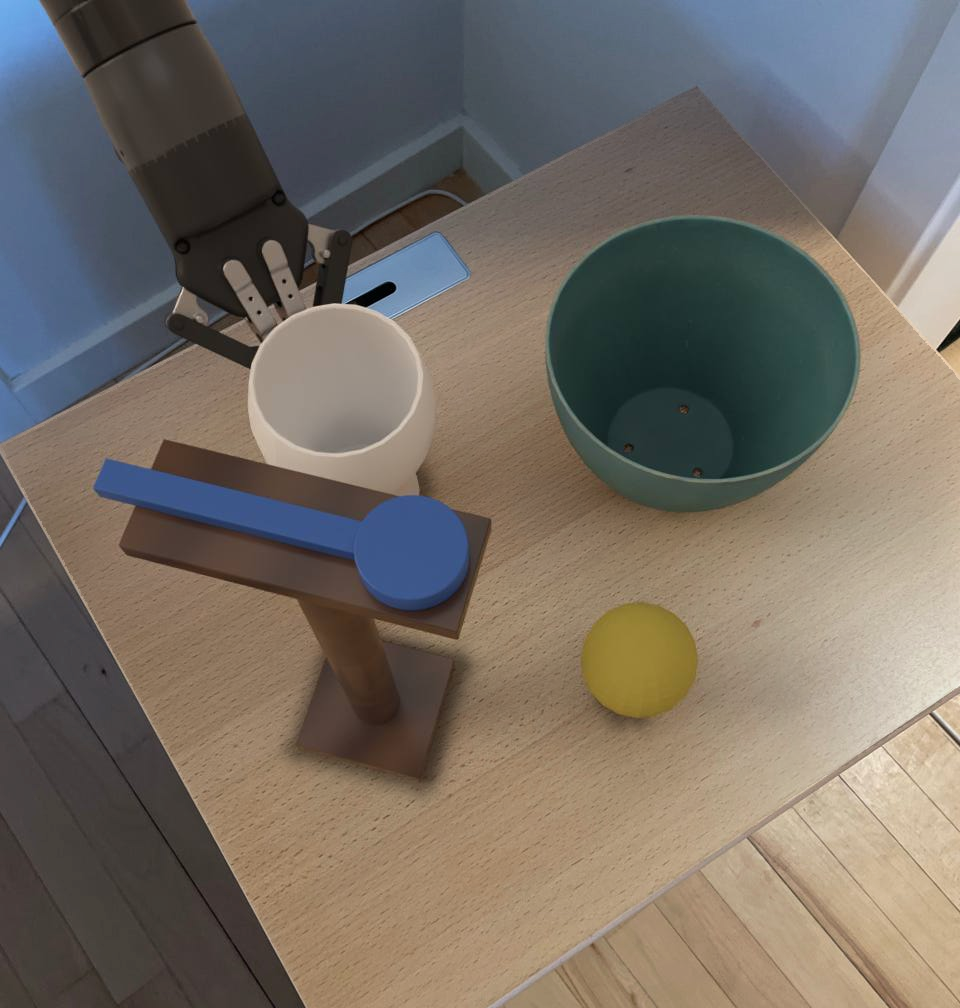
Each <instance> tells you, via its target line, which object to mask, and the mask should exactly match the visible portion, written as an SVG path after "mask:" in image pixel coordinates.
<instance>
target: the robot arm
mask: <svg viewBox="0 0 960 1008" xmlns="http://www.w3.org/2000/svg"><path fill="white" fill-rule="evenodd" d="M38 1H39V2H40V5H41V7H42V8H43V9H44V11H45V13H46V15H47V17H48V19H49V20H50V23H51V24H52V26H53V27H54V29H55V31H56V33H57V35H58V37H59V38H60V42H62V44H63V46H64V48H65V50H66V52H67V54H68V56H69V57H70V59H71V61H72V62H73V64H74V66H75V68H76V70H77V72H78V74H79V75H80V77H81V78H83V83H84V85H85V87H86V89H87V91H88V93H89V96H90V98H91V100H92V103H93V106H94V108H95V111H96V113H97V116H98V118H99V120H100V122H101V124H102V127H103V128H104V131H105V132H106V134H107V136H108V138H109V140H110V141H111V143H112V146H113V150H114V153H115V155H116V156H117V159H118V160H119V161H120V162H121V163H122V165H124V167H125V169H126V171H127V173H128V175H129V176H130V179H131V181H132V182H133V184H134V185H135V188H136V189H137V191H138V193H139V195H140V197H141V199H142V200H143V202H144V204H145V206H146V207H147V210H148V211H149V213H150V215H151V217H152V219H153V221H154V222H155V224H156V226H157V228H158V229H159V231H160V233H161V235H162V237H163V238H164V240H165V242H166V244H167V246H168V248H169V249H170V252H171V254H172V256H173V260H174V268H175V271H174V273H175V278H176V281H177V282H178V284H179V285H180V289H179V292H178V295H177V296H176V299H175V302H174V305H173V307H172V310H171V311H170V312H168V313H166V314H165V316H164V319H163V323H164V326H165V328H166V329H167V330H168V331H169V332H171V333H172V334H174V335H175V336H178V337H180V338H182V339H184V340H186V341H188V342H191V343H193V344H195V345H197V346H200V347H202V348H203V349H205V350H208V351H210V352H212V353H215V354H217V355H218V356H221V357H223V358H225V359H227V360H228V361H231V362H234V363H236V364H238V365H239V366H243V367H244V368H247V369H249V370H251V364H252V362H253V360H254V357H255V355H256V353H257V351H258V349H259V346H260V345H253V346H250V345H248V344H246V343H244V342H241V341H239V340H237V339H235V338H233V337H230V336H229V335H226V334H224V333H222V332H221V331H219V330H216V329H214V328H212V327H210V326H208V325H209V323H210V317H209V315H208V312H207V311H206V310H204V309H203V308H202V307H201V306H200V305H199V303H198V298H199V299H201V300H203V301H205V302H207V303H208V304H211V305H212V306H214V307H216V308H218V309H220V310H222V311H223V312H226V313H227V314H229V315H231V316H234V317H237V318H243V319H244V321H245V322H246V324H247V326H248V327H249V329H250V330H251V332H253V334H254V335H255V337H256V339H257V340H258V342H259V343H260V344H261V343H262V342H263V341H264V340H265V338H266V337H267V336H268V335H269V334H270V332H271V331H272V330H273V329H274V328H275V327H276V326H278V325H279V324H278V321H277V320H276V319H275V317H274V315H273V313H272V312H271V310H270V308H269V307H270V306H271V305H272V304H273V306H274V308H275V310H276V313H277V315H278V316H279V318H280V319H281V323H282V322H283V321H285V320H286V319H287V318H289V317H290V316H292V315H294V314H296V313H299V312H301V311H304V310H306V309H307V307H306V304H305V302H304V299H303V298H302V297H303V296H302V294H301V293H300V290H299V289H300V287H301V286H302V283H303V279H304V278H303V277H304V270H305V262H306V257H307V256H306V255H307V248H308V245H309V247H310V251H311V252H310V254H311V259H312V260H313V262H315V263H316V264H318V265H319V266H318V271H317V276H316V283H315V290H314V295H313V302H312V307H315V306H321V305H327V304H334V303H335V304H343V299H344V292H345V287H346V281H347V275H348V269H349V265H350V257H351V252H352V247H353V238H352V237H353V236H352V235H351V233H350V232H349V231H347V230H345V229H338V228H337V229H330V228H326V227H322V226H319V225H315V224H311V223H309V221H308V218H307V217H306V215H305V214H304V212H303V211H302V210H300V209H299V208H298V207H296V206H295V205H294V204H293V203H292V201H291V200H289V198H288V196H287V195H286V193H285V190H284V188H283V186H282V184H281V183H280V181H279V178H278V175H277V174H276V172H275V170H274V168H273V166H272V164H271V161H270V159H269V157H268V156H267V153H266V151H265V148H263V145H262V143H261V140H260V139H259V137H258V135H257V132H256V130H255V128H254V126H253V124H252V121H251V119H250V117H249V116H248V113H247V111H246V109H245V107H244V105H243V103H242V101H241V98H240V97H239V94H238V93H237V90H236V88H235V86H234V85H233V82H232V80H231V78H230V76H229V74H228V72H227V70H226V68H225V67H224V64H223V62H222V61H221V59H220V57H219V56H218V54H217V53H216V51H215V50H214V48H213V46H212V45H211V43H210V42H209V40H208V39H207V37H206V35H205V34H204V31H203V30H202V28H201V26H200V24H198V21H197V19H196V17H195V14H194V12H193V10H192V8H191V6H190V3H189V2H188V0H38Z"/></svg>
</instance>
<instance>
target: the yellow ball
mask: <svg viewBox="0 0 960 1008" xmlns="http://www.w3.org/2000/svg"><path fill="white" fill-rule="evenodd" d="M581 649H582V650H581V654H580V664H581V671H582V678H583V680H584V682H585V683H586V686H587V687H588V690H589V692H590V693H591V694H592V696H593V697H594V698H595V699H596V700H597V701H598V702H599V703H600V704H601V705H602V706H603V707H605V708H607V709H609V710H611V711H613V712H614V713H616V714H618V715H620V716H625V717H631V718H636V719H643V718H644V719H645V718H653V717H654V718H655V717H658V716H659V715H662V714H664V713H666V712H669V711H671V710H673V709H674V708H675V707H676V706H677V705H678V704H679V703H680V702H682V701H683V700H684V699H685V697H687V696H688V694H689V692H690V690H691V688H692V687H693V684H694V683H695V681H696V679H697V673H698V667H699V655H698V649H697V645H696V640H695V637H694V636H693V634H692V633H691V631H690V628H689V627H688V625H687V624H686V623H685V622H684V621H683V620H682V619H681V618H680V617H679V616H678V615H677V614H675V613H674V612H672V611H670V610H669V609H666V608H665V607H663V606H661V605H659V604H654V603H648V602H642V601H639V602H629V603H624V604H621V605H619V606H616V607H613V608H611V609H609V610H607V611H606V612H605V613H604V614H603V615H601V616H600V617H599V618H598V619H597V620H596V621H595V622H593V624H592V626H591V628H590V629H589V631H588V632H587V634H586V635H585V637H584V640H583V644H582V648H581Z"/></svg>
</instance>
